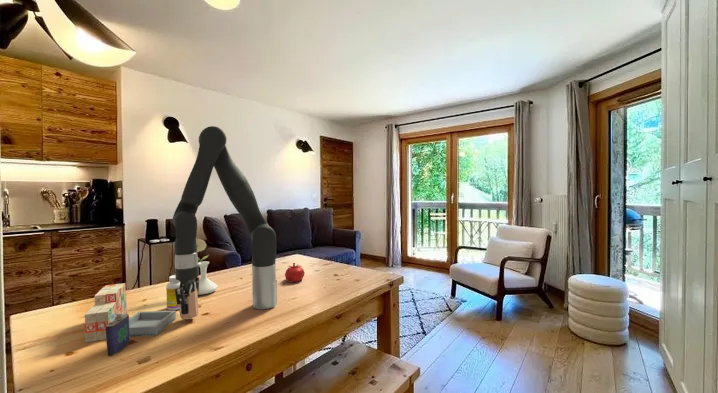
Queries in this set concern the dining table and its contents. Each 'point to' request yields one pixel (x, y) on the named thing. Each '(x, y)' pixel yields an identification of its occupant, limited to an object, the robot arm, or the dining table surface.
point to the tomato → (294, 273)
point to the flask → (117, 334)
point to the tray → (150, 322)
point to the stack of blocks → (105, 311)
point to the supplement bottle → (172, 293)
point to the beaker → (191, 306)
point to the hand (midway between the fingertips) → (189, 310)
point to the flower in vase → (204, 271)
